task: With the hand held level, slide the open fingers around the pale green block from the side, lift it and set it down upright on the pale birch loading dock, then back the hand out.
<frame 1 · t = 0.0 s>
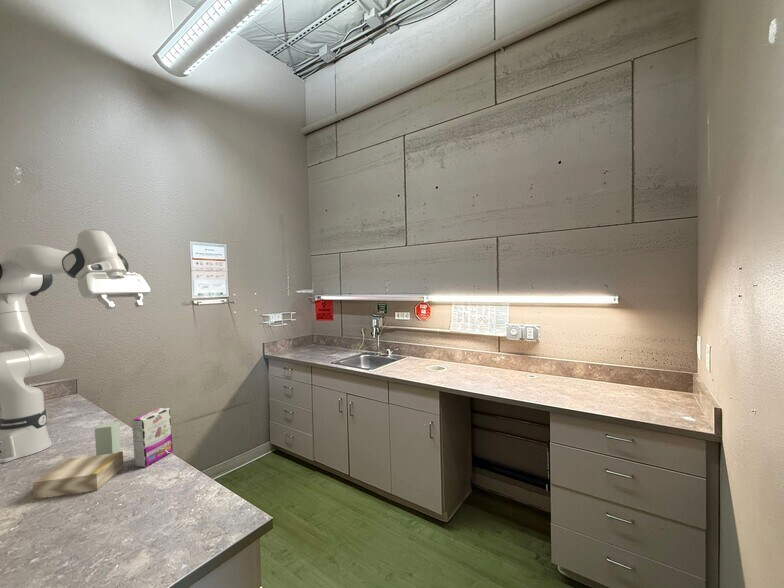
hand: (126, 307, 114), 54 cm above the counter, tool tilted 30°, fingers open, 8 cm apart
pale green block: (109, 457, 123), on the counter
dock: (82, 481, 107), on the counter
candy bar box: (154, 459, 120), on the counter
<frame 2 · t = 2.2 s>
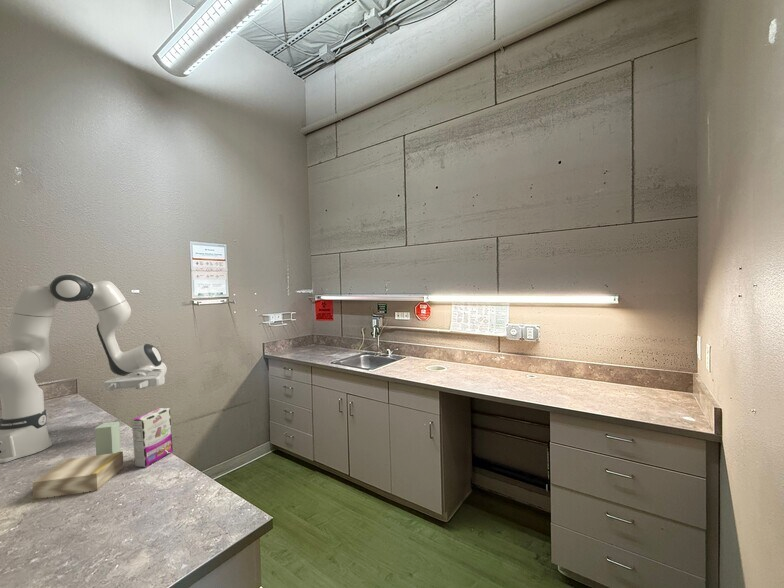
hand: (124, 387, 134), 22 cm above the counter, tool horizontal, fingers open, 8 cm apart
nothing on the counter moved.
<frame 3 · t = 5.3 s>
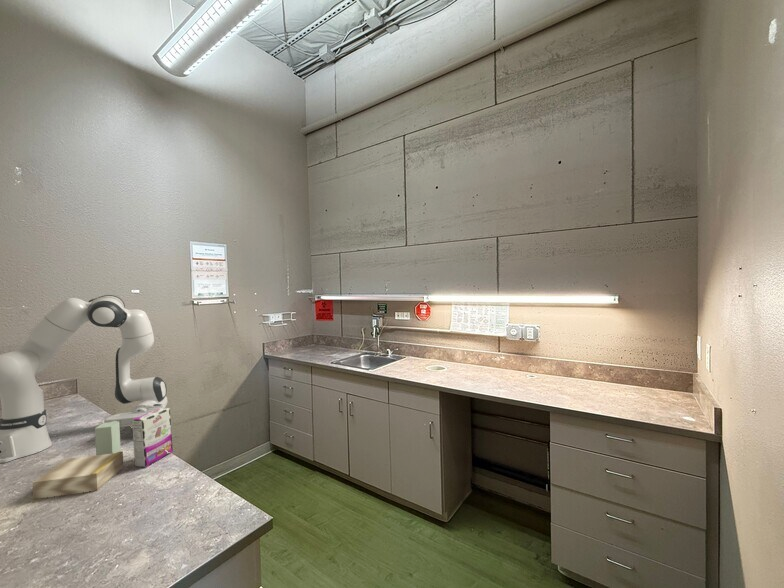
hand: (125, 426, 133), 7 cm above the counter, tool horizontal, fingers open, 8 cm apart
nothing on the counter moved.
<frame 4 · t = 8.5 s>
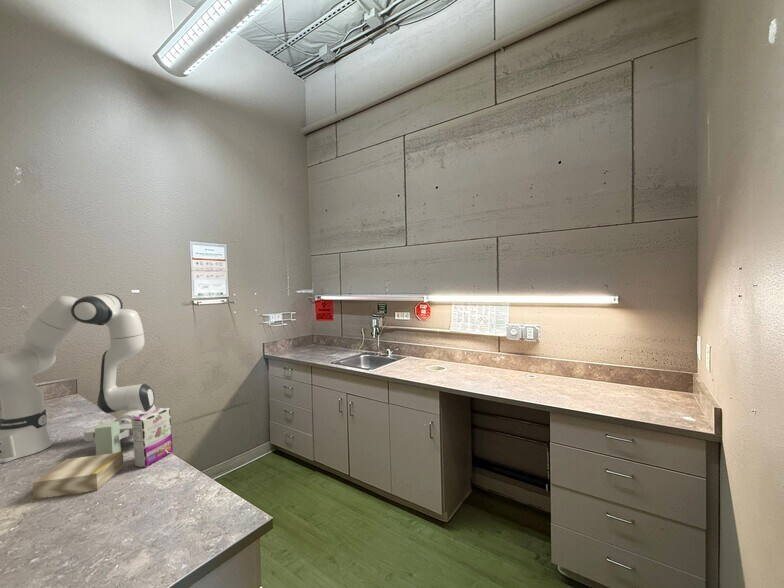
hand: (106, 439, 122), 7 cm above the counter, tool horizontal, fingers closed on pale green block, 5 cm apart
pale green block: (109, 457, 123), on the counter, touching gripper
everything else where it was.
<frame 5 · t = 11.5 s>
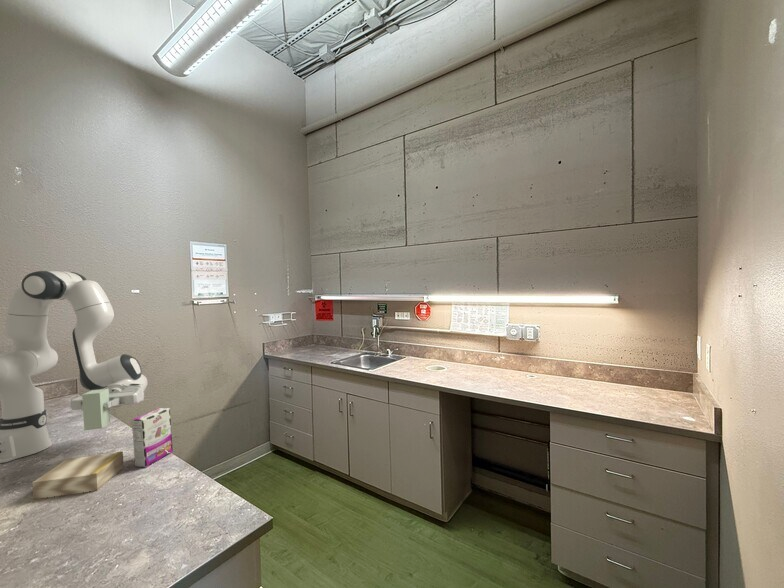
hand: (94, 406, 115), 21 cm above the counter, tool horizontal, fingers closed on pale green block, 5 cm apart
pale green block: (97, 426, 116), point 14 cm above the counter, touching gripper
everything else where it was.
when the fingers open (13 cm above the counter, at t = 14.5 s): pale green block stays where it is, resting on dock.
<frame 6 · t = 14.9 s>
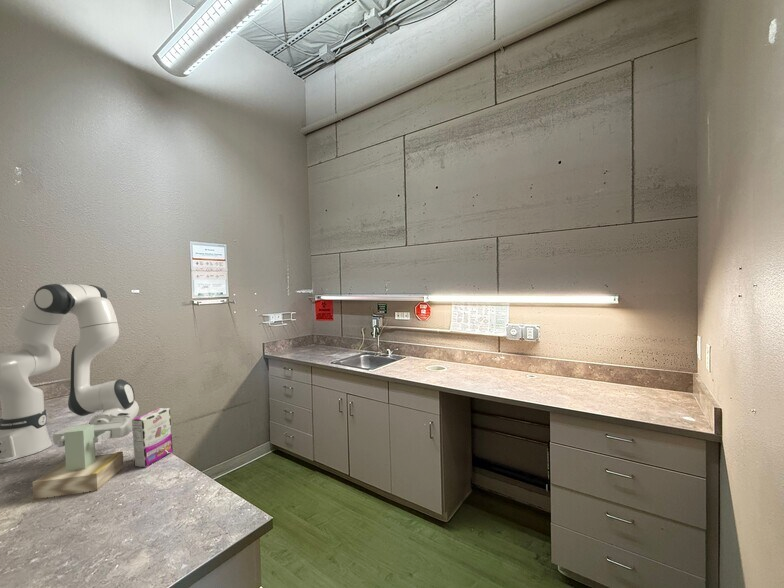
hand: (78, 442, 106), 13 cm above the counter, tool horizontal, fingers open, 8 cm apart
pale green block: (81, 466, 107), point 5 cm above the counter, touching dock
everything else where it was.
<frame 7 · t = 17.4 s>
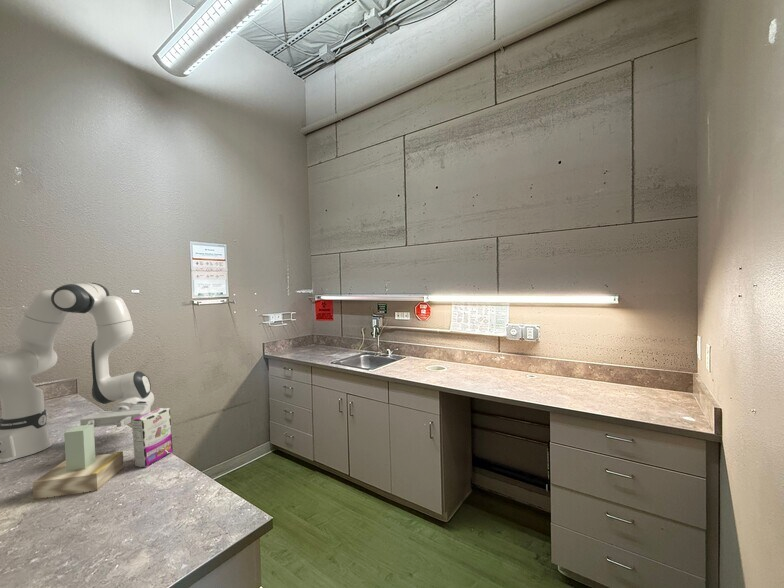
hand: (103, 426, 119), 13 cm above the counter, tool horizontal, fingers open, 8 cm apart
nothing on the counter moved.
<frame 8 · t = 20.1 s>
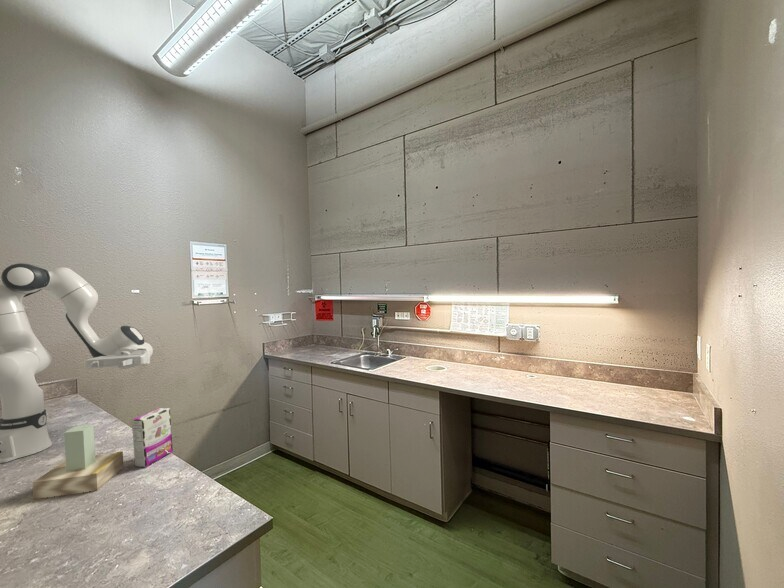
hand: (106, 364, 130), 32 cm above the counter, tool horizontal, fingers open, 8 cm apart
nothing on the counter moved.
at the end: pale green block inside the target area on the dock (0.1 cm from its centre), point 5.0 cm above the dock's base; pale green block tilted 0°; the gripper is holding nothing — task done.
